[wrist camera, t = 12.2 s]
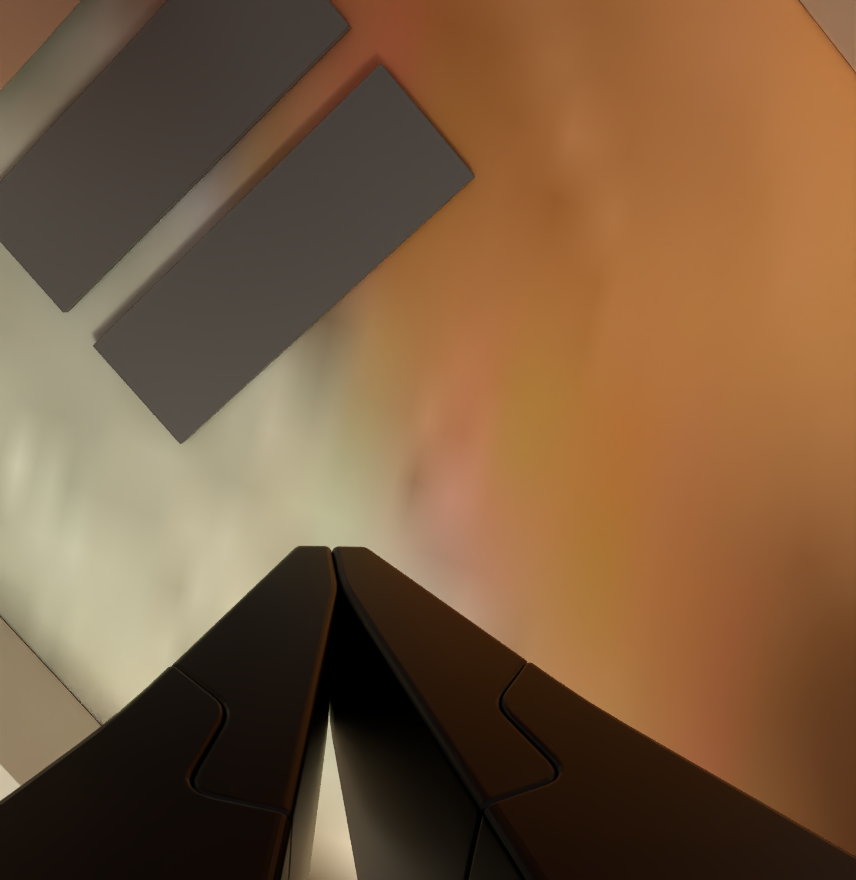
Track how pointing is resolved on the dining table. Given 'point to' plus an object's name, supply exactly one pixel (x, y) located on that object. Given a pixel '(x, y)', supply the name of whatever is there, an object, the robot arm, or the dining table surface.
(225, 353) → the trap box
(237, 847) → the robot arm
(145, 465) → the dining table surface
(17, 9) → the terracotta block
